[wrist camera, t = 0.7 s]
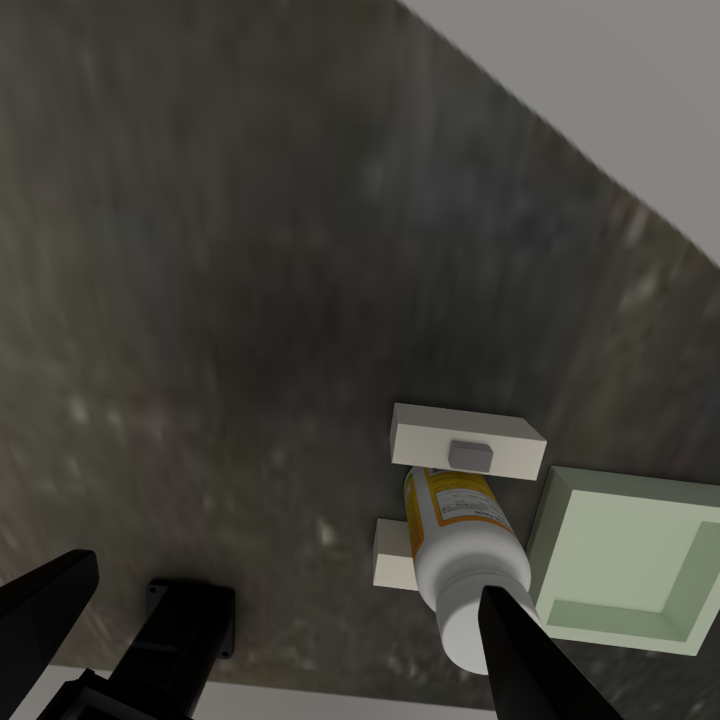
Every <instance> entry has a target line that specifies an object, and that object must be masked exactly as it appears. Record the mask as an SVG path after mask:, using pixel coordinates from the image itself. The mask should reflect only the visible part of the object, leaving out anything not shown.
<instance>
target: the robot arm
mask: <svg viewBox="0 0 720 720" xmlns="http://www.w3.org/2000/svg"><path fill="white" fill-rule="evenodd" d="M98 583H99V572H98V565H97V558H96V554H95V552H94V551H92V550H84V549H74V550H72V551H69V552H67V553H65V554H64V555H62V556H60V557H58V558H56V559H54V560H52V561H50V562H48V563H46V564H44V565H42V566H40V567H38V568H36V569H35V570H33V571H31V572H29V573H27V574H25V575H23V576H21V577H19V578H17V579H15V580H13V581H11V582H9V583H7V584H6V585H4V586H2V587H0V720H9V718H10V717H11V716H12V714H13V713H14V712H15V710H16V709H17V707H18V706H19V705H20V703H21V702H22V701H23V699H24V698H25V697H26V695H27V694H28V693H29V691H30V690H31V689H32V687H33V686H34V684H35V683H36V682H37V680H38V679H39V677H40V676H41V675H42V673H43V672H44V670H45V669H46V667H47V666H48V664H49V663H50V661H51V660H52V658H53V657H54V655H55V654H56V652H57V650H58V649H59V647H60V646H61V644H62V643H63V641H64V639H65V638H66V636H67V635H68V633H69V632H70V630H71V628H72V627H73V625H74V624H75V622H76V620H77V619H78V617H79V616H80V614H81V613H82V611H83V609H84V608H85V606H86V605H87V603H88V602H89V600H90V598H91V597H92V595H93V594H94V592H95V590H96V588H97V586H98ZM146 595H147V610H148V619H147V620H146V622H145V623H144V625H143V627H142V628H141V630H140V631H139V633H138V634H137V636H136V637H135V639H134V640H133V642H132V644H131V645H130V647H129V648H128V650H127V651H126V653H125V654H124V656H123V657H122V659H121V660H120V662H119V664H118V665H117V667H116V668H115V670H114V671H113V673H112V674H111V676H110V677H109V679H108V680H107V679H105V678H103V677H100V676H98V675H96V674H94V673H95V671H93V670H91V669H89V668H86V670H85V671H84V672H83V674H82V675H81V676H80V677H79V679H76V680H73V681H66V682H65V683H64V684H63V685H62V687H61V688H60V689H59V691H58V692H57V693H56V695H55V696H54V697H53V698H52V700H51V701H50V702H49V704H48V705H47V706H46V708H45V709H44V710H43V712H42V713H41V714H40V715H39V717H38V718H37V719H36V720H193V719H191V718H192V715H193V713H194V711H195V708H196V706H197V703H198V701H199V698H200V696H201V694H202V691H203V688H204V686H205V684H206V681H207V679H208V677H209V674H210V672H211V669H212V667H213V664H214V662H215V660H216V658H222V659H229V658H231V656H232V654H233V651H234V620H235V593H234V592H233V591H232V590H230V589H223V588H215V587H207V586H200V585H192V584H184V583H176V582H168V581H160V580H152V581H151V582H150V583H149V584H148V586H147V587H146ZM478 625H479V630H480V635H481V640H482V645H483V650H484V655H485V660H486V665H487V671H488V676H489V681H490V686H491V691H492V696H493V700H494V705H495V710H496V714H497V718H498V720H625V719H624V718H623V717H622V716H621V715H620V713H619V712H618V711H617V710H616V709H615V708H614V707H613V706H612V705H611V704H610V703H609V701H608V700H607V699H606V698H605V697H604V696H603V695H602V694H601V693H600V692H599V691H598V689H597V688H596V687H595V686H594V685H593V684H592V683H591V682H590V681H589V680H588V679H587V677H586V676H585V675H584V674H583V673H582V672H581V671H580V670H579V669H578V668H577V667H576V665H575V664H574V663H573V662H572V661H571V660H570V659H569V658H568V657H567V656H566V655H565V653H564V652H563V651H562V650H561V649H560V648H559V647H558V646H557V645H556V644H555V643H554V641H553V640H552V639H551V638H550V637H549V636H548V635H547V634H546V633H545V632H544V631H543V629H542V628H541V627H540V626H539V625H538V624H537V623H536V622H535V621H534V620H533V619H532V617H531V616H530V615H529V614H528V613H527V612H526V611H525V610H524V609H523V608H522V607H521V605H520V604H519V603H518V602H517V601H516V600H515V599H514V598H513V597H512V596H511V595H510V593H509V592H508V591H507V590H506V589H505V588H503V587H502V586H496V585H485V586H484V587H483V589H482V594H481V599H480V604H479V609H478Z"/></svg>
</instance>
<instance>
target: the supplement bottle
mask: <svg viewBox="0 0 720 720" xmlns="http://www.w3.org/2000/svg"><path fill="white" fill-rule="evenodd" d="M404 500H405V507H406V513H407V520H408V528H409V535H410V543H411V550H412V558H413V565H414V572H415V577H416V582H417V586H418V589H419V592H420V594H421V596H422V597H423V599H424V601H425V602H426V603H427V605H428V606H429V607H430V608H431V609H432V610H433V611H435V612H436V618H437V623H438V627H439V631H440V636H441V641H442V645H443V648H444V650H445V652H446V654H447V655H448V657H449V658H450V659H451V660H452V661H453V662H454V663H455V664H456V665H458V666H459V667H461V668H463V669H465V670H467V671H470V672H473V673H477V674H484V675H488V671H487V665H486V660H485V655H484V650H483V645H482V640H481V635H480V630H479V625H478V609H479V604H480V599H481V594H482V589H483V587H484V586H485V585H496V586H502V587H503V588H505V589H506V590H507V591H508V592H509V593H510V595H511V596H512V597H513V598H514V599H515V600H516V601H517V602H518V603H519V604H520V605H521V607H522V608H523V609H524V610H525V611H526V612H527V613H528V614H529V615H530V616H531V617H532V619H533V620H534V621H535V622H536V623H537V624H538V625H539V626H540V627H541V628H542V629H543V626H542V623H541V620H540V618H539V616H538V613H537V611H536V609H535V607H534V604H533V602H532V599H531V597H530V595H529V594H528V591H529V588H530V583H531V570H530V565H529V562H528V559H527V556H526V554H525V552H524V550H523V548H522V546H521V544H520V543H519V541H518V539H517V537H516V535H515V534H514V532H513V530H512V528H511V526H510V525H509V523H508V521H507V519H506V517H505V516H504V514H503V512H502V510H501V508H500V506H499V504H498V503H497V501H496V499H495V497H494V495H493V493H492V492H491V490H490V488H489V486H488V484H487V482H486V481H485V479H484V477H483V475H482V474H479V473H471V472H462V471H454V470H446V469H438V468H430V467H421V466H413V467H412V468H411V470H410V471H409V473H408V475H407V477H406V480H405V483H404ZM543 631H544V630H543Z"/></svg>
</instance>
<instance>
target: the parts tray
mask: <svg viewBox="0 0 720 720" xmlns="http://www.w3.org/2000/svg"><path fill="white" fill-rule="evenodd" d="M525 554H526V556H527V559H528V562H529V565H530V570H531V583H530V588H529V591H528V594H529V595H530V597H531V599H532V602H533V604H534V607H535V609H536V611H537V613H538V616H539V618H540V620H541V623H542V626H543V630H544V632H545V633H546V634H547V635H548V636H549V637H551V638H559V639H567V640H575V641H583V642H590V643H598V644H606V645H614V646H622V647H630V648H637V649H645V650H653V651H661V652H669V653H677V654H684V655H692V656H696V654H697V652H698V650H699V648H700V646H701V644H702V642H703V640H704V638H705V636H706V635H707V633H708V631H709V629H710V627H711V625H712V623H713V621H714V619H715V617H716V615H717V613H718V611H719V609H720V486H717V485H709V484H701V483H692V482H684V481H676V480H668V479H659V478H651V477H643V476H635V475H626V474H618V473H610V472H602V471H594V470H585V469H577V468H569V467H561V466H552V465H550V468H549V472H548V475H547V479H546V482H545V486H544V489H543V492H542V496H541V499H540V503H539V506H538V510H537V513H536V516H535V520H534V523H533V527H532V530H531V534H530V537H529V540H528V544H527V547H526V551H525Z"/></svg>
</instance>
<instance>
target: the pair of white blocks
mask: <svg viewBox="0 0 720 720" xmlns="http://www.w3.org/2000/svg"><path fill="white" fill-rule="evenodd" d="M546 443H547V441H546V440H545V439H544V438H543V437H542V436H541V435H540V434H539V433H538V432H537V431H536V430H535V429H534V428H533V427H532V426H530V425H529V424H528V423H527V422H526V421H525V420H524V419H523V418H519V417H511V416H503V415H494V414H486V413H478V412H469V411H461V410H453V409H444V408H436V407H428V406H419V405H411V404H403V403H395V404H394V410H393V417H392V424H391V431H390V447H391V458H392V463H397V464H405V465H413V466H421V467H430V468H438V469H446V470H454V471H462V472H471V473H479V474H487V475H495V476H503V477H511V478H520V479H528V480H536V478H537V475H538V471H539V468H540V464H541V461H542V457H543V454H544V450H545V447H546ZM373 585H377V586H385V587H393V588H401V589H408V590H416V591H419V589H418V586H417V582H416V577H415V572H414V565H413V558H412V550H411V543H410V535H409V528H408V522H404V521H396V520H388V519H380V518H378V519H377V525H376V532H375V539H374V546H373Z"/></svg>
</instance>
